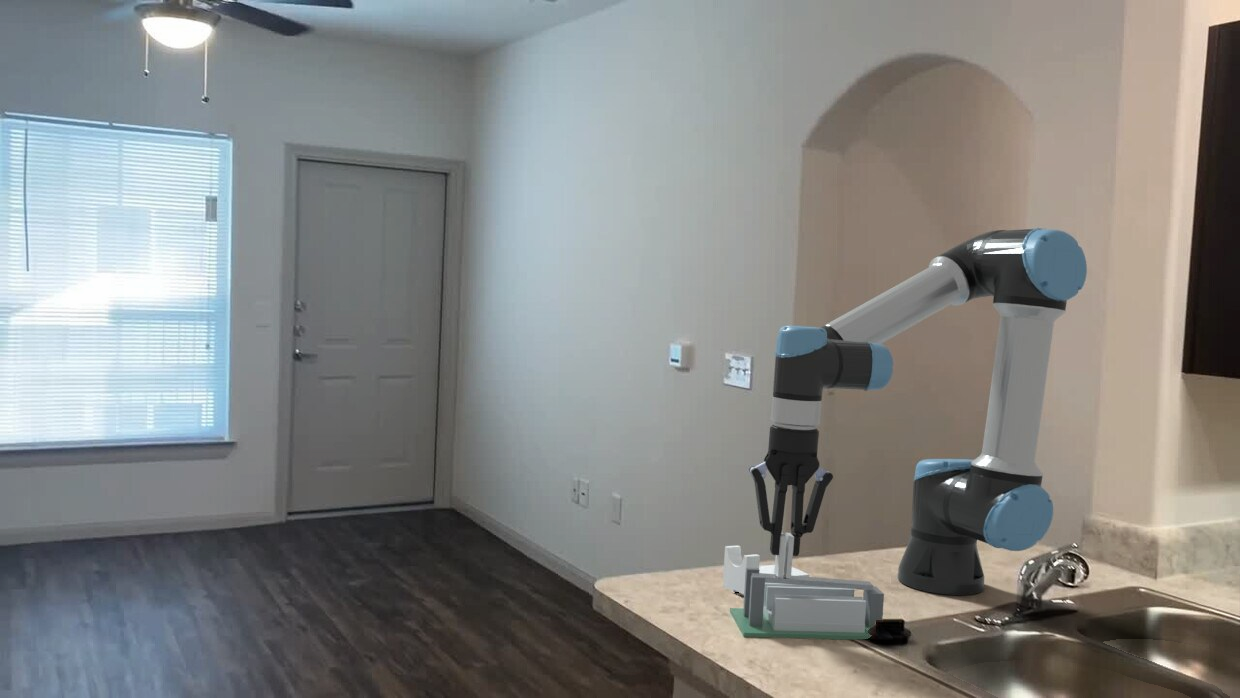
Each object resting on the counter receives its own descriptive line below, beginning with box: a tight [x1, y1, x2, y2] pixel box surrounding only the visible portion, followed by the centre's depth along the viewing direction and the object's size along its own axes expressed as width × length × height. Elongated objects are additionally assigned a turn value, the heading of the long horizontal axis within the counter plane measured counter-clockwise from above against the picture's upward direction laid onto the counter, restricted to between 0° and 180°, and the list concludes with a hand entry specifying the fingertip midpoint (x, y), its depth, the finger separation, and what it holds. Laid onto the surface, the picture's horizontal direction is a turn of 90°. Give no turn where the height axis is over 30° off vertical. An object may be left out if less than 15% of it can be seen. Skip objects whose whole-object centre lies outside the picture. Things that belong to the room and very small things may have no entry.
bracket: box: [722, 545, 810, 596], centre depth 186 cm, size 13×7×8 cm, turn 115°
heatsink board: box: [729, 568, 885, 640], centre depth 168 cm, size 23×12×8 cm, turn 94°
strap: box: [751, 572, 874, 591], centre depth 167 cm, size 19×2×1 cm, turn 94°
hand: (782, 575), depth 167 cm, fingers closed, pressing on strap
